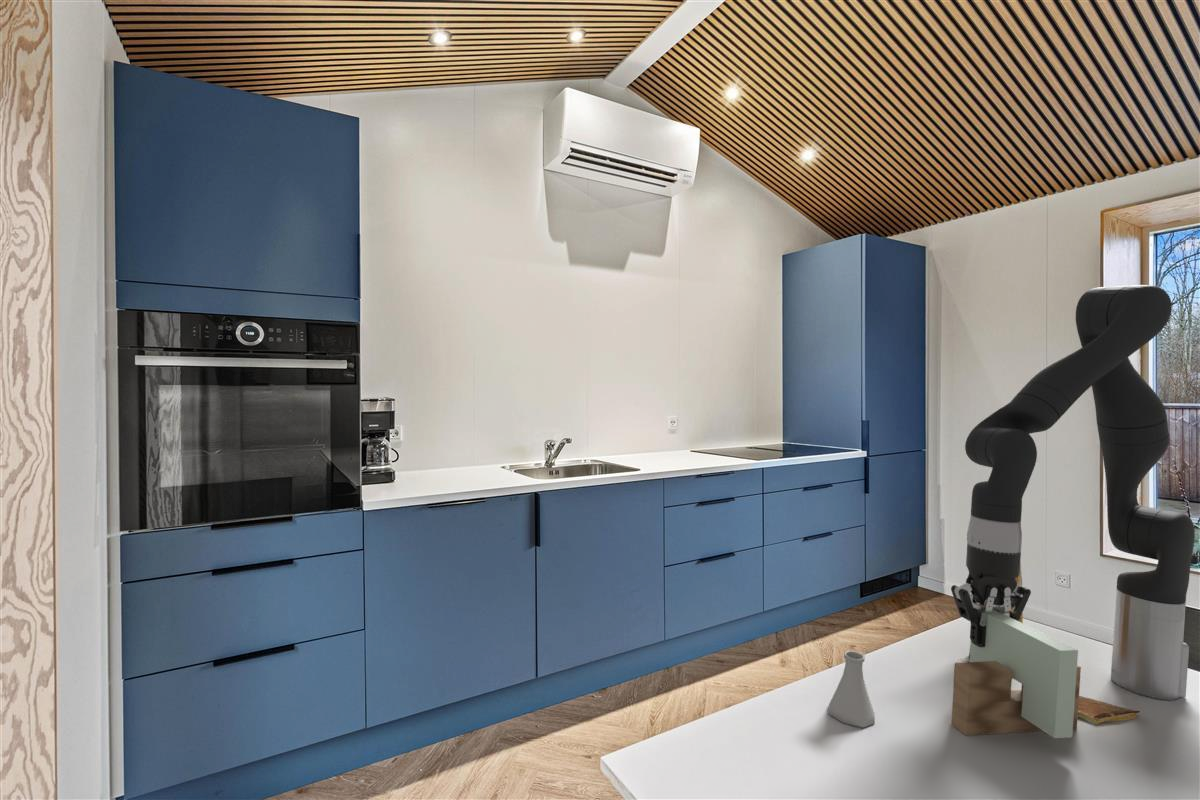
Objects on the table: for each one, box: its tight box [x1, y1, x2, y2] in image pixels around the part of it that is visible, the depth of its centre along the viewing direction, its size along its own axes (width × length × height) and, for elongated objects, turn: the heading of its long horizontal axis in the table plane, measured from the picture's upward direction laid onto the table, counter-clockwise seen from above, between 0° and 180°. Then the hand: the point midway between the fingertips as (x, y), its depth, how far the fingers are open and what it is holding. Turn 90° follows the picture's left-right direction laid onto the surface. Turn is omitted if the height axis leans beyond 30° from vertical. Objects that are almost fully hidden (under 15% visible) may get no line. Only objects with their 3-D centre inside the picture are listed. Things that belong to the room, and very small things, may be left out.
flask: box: [827, 649, 875, 729], centre depth 93 cm, size 7×7×10 cm
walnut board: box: [950, 661, 1082, 737], centre depth 92 cm, size 20×3×10 cm, turn 99°
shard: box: [1078, 695, 1142, 725], centre depth 96 cm, size 11×8×2 cm
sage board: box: [968, 609, 1079, 739], centre depth 91 cm, size 16×3×13 cm, turn 9°
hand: (987, 644), depth 97 cm, fingers closed on sage board, 3 cm apart
